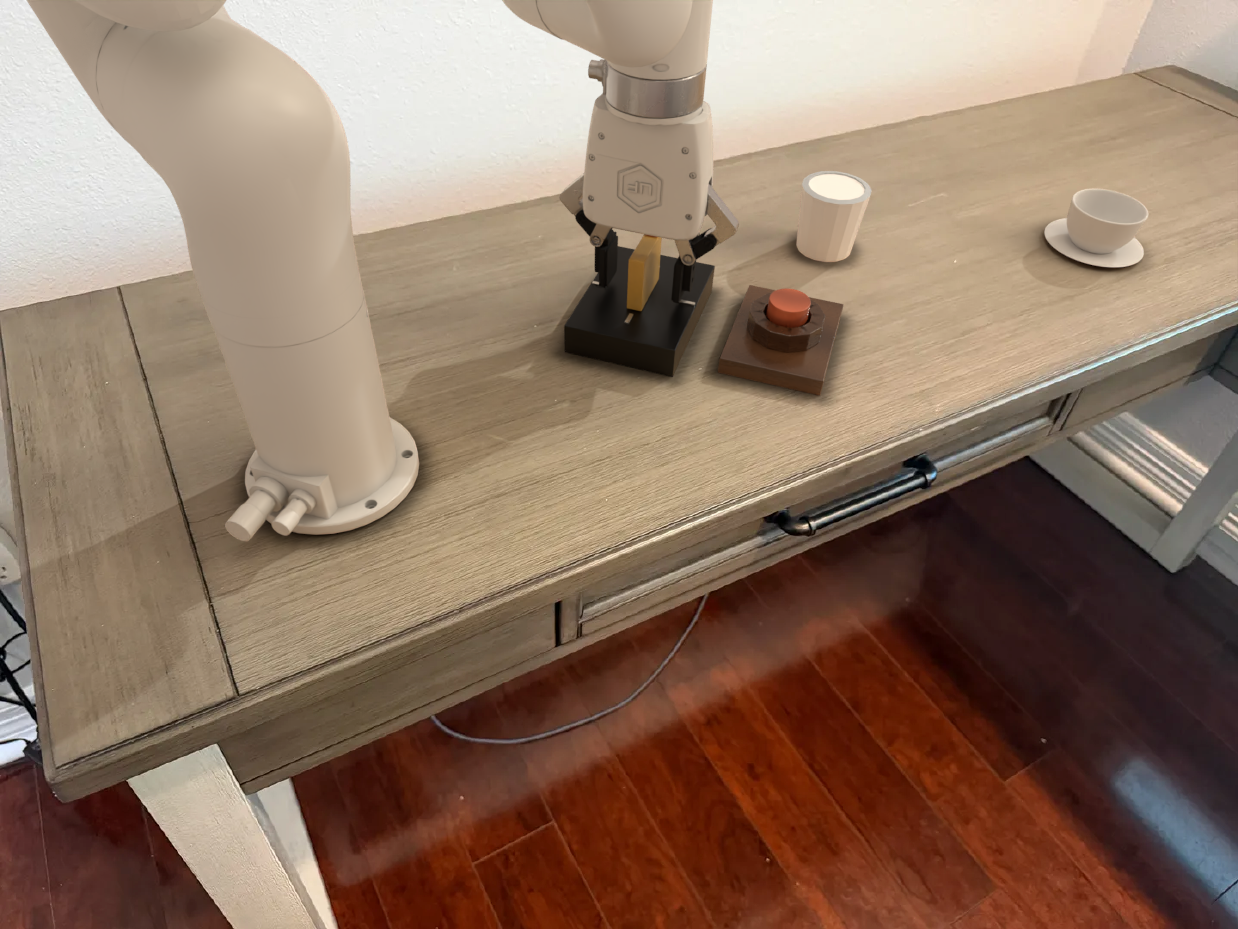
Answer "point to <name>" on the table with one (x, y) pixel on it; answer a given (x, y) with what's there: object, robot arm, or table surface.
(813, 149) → the table surface
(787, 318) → the button
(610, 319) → the plate
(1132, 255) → the teacup
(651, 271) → the yellow flat block
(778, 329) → the button block
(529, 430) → the table surface
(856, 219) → the beige cup
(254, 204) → the robot arm
